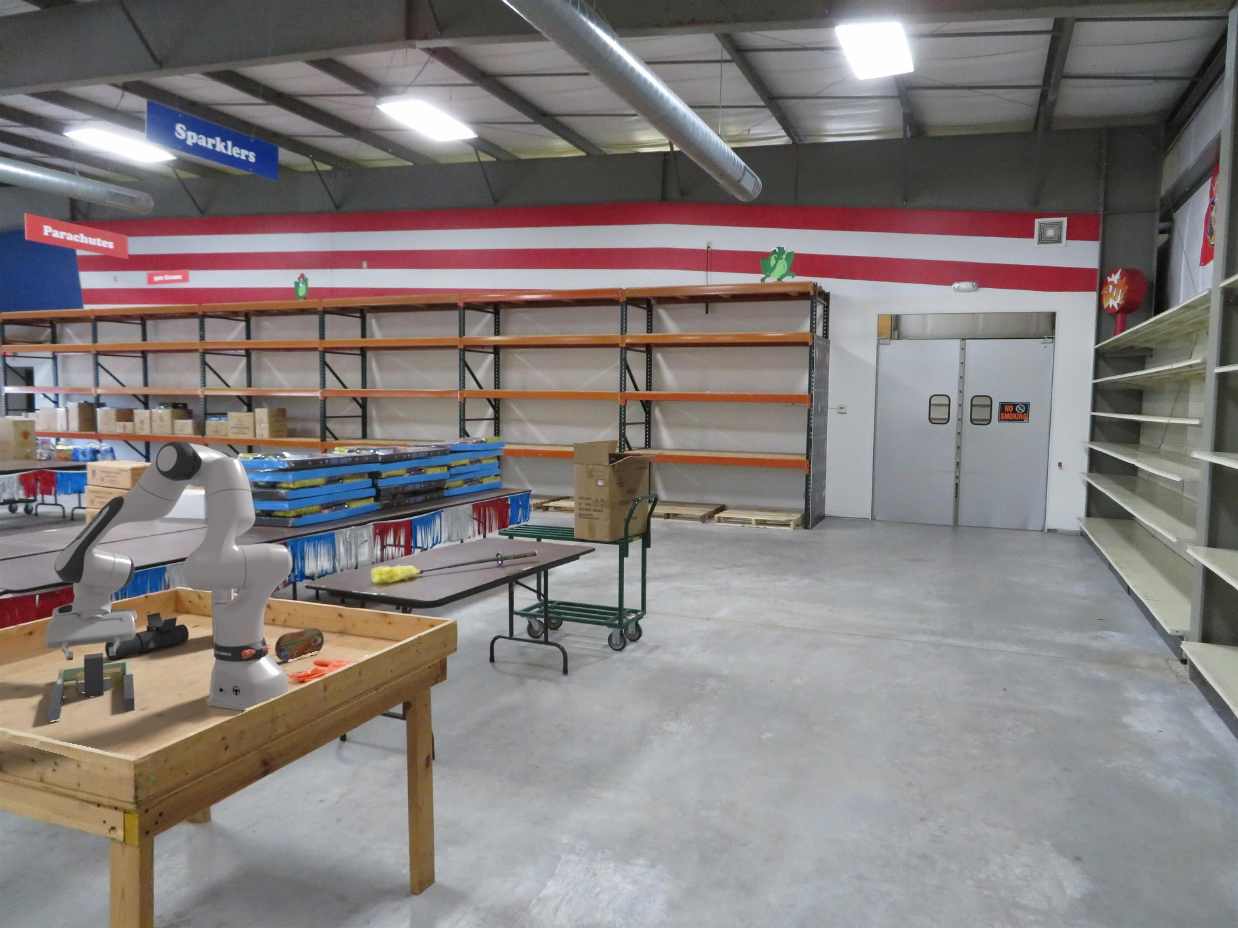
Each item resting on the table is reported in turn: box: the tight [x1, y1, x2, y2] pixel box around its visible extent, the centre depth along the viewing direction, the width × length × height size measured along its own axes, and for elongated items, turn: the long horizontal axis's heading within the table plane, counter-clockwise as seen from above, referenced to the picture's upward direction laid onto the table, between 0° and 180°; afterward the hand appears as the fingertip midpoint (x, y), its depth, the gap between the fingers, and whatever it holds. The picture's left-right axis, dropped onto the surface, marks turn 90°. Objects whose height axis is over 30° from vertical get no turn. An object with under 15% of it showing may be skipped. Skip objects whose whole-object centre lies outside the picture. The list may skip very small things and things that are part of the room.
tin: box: [274, 627, 325, 662], centre depth 235 cm, size 15×3×8 cm, turn 146°
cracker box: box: [211, 589, 235, 647], centre depth 251 cm, size 14×6×21 cm, turn 24°
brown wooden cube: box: [103, 667, 122, 688], centre depth 209 cm, size 4×4×4 cm
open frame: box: [56, 660, 132, 684], centre depth 210 cm, size 13×16×3 cm
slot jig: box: [48, 673, 135, 722], centre depth 196 cm, size 20×17×3 cm
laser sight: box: [104, 612, 190, 661], centre depth 238 cm, size 10×22×10 cm, turn 149°
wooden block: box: [75, 672, 84, 693], centre depth 206 cm, size 4×4×4 cm
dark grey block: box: [77, 652, 112, 698], centre depth 202 cm, size 5×7×10 cm
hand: (91, 656), depth 208 cm, fingers open, 8 cm apart
